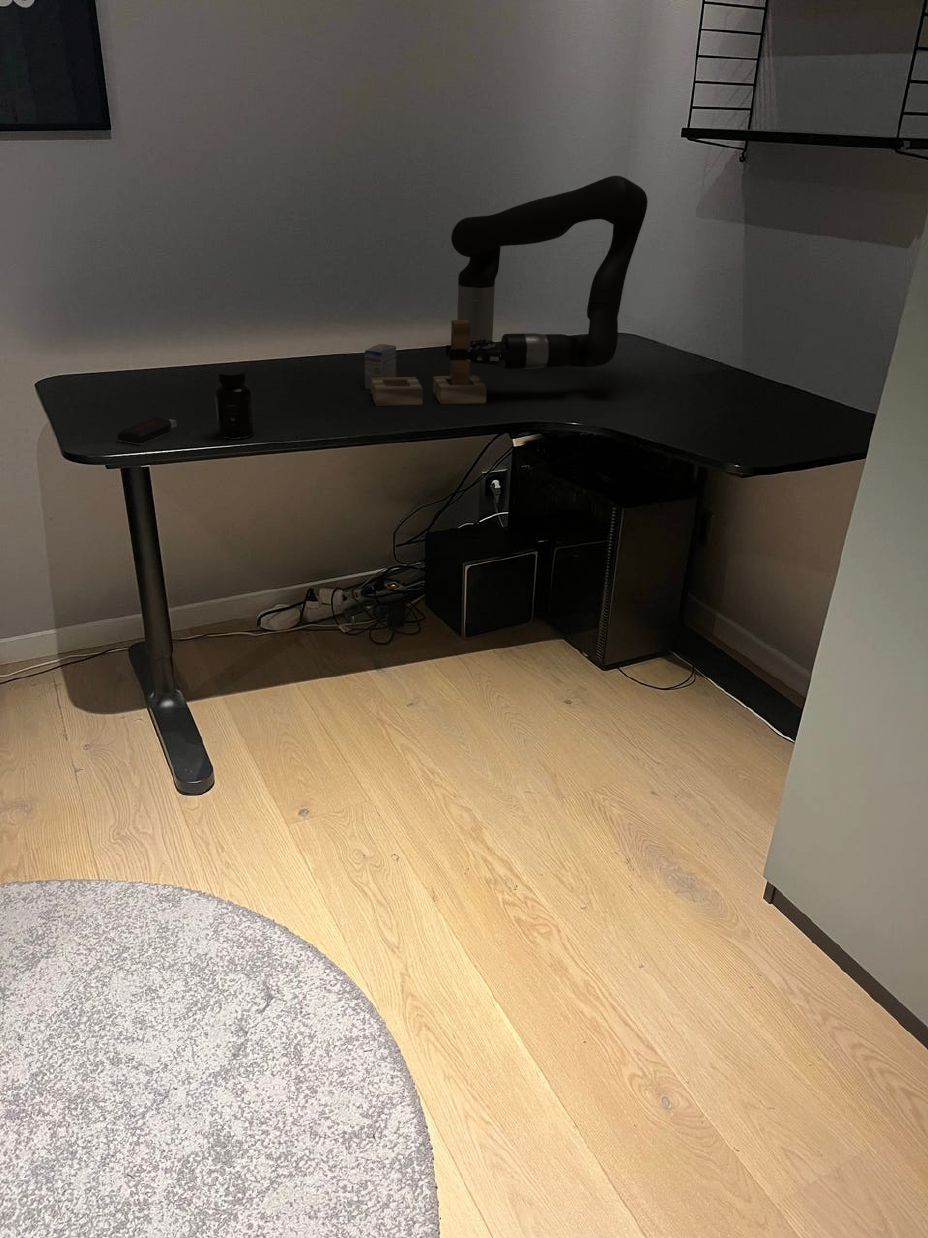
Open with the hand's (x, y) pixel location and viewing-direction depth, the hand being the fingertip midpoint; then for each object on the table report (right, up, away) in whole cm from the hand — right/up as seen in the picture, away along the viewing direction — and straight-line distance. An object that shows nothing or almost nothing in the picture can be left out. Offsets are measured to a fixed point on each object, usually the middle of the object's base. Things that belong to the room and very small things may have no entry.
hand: (447, 352), depth 211 cm
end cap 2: (+2, -9, +5) cm, 10 cm away
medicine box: (-15, -5, +12) cm, 20 cm away
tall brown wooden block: (+3, -6, +4) cm, 8 cm away
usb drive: (-56, -23, -25) cm, 66 cm away
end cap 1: (-11, -9, +3) cm, 15 cm away
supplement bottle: (-40, -22, -23) cm, 51 cm away
